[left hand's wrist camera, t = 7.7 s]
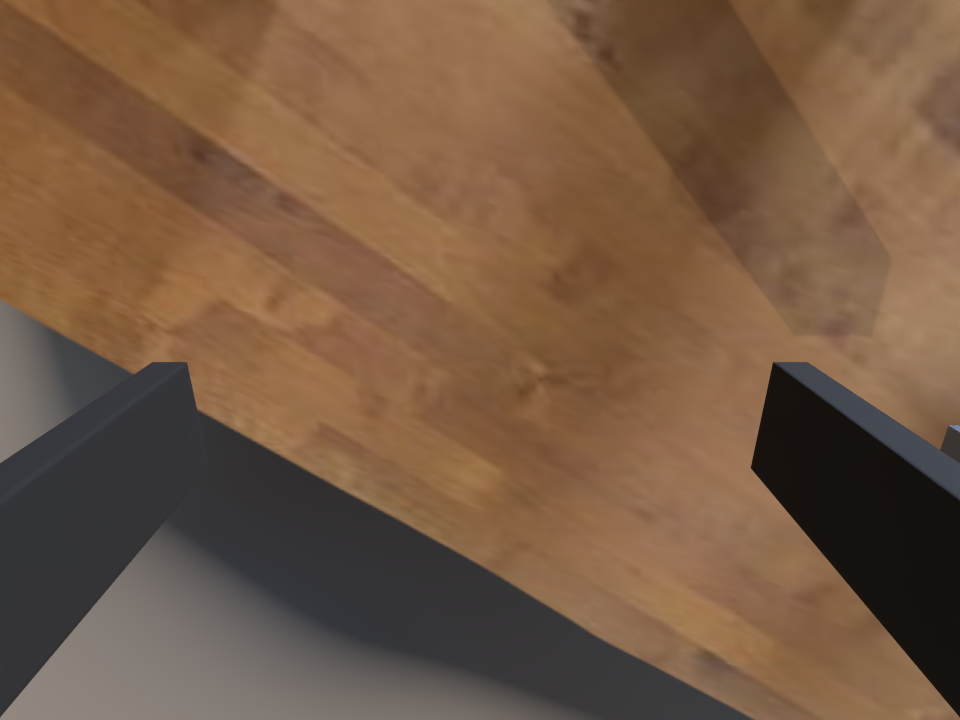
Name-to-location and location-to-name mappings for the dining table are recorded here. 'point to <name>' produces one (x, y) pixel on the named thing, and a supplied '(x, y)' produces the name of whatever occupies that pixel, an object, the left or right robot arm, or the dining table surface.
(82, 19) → the dining table surface
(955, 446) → the block
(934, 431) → the dining table surface
